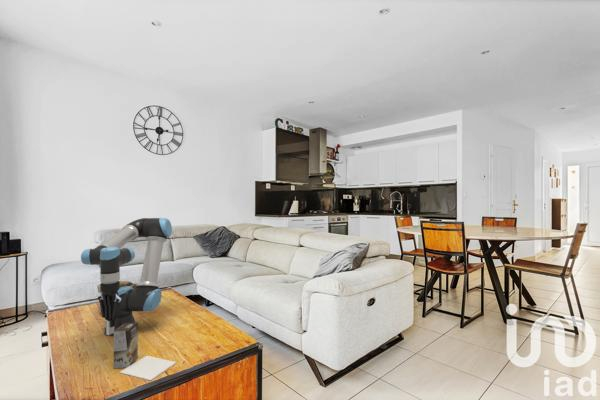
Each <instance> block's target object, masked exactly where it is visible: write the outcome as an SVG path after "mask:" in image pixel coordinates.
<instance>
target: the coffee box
mask: <svg viewBox="0 0 600 400" xmlns="http://www.w3.org/2000/svg"><path fill="white" fill-rule="evenodd" d="M138 325H139V322H136V321H135V322H132V323H124V324H122V325H121V326H120V327H118V328H117V329H116V330H114V336H113V369H125V368H127V367H129V366H130V365H132V364H134V363H135V361H136V360H137V359H138V357H139V348H138V347H139V340H138V339H139V338H138V337H139V329H138V328H139V326H138Z"/></svg>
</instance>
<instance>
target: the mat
mask: <svg viewBox="0 0 600 400" xmlns="http://www.w3.org/2000/svg"><path fill="white" fill-rule="evenodd" d="M176 364H177V361H173V360H168V359H164V358H160V357H155V356H150V355H145V356H144V357H142V358H141V359H139V360H137V361H136V362H135V361H134V362H133V363H132V364H131V365H130V366H129V367H127V368H123V369H122V370H120V371H119V374H121V375H126V376H130V377H133V378H137V379H141V380H146V381H149V382H152V381H154V380H155V379H156V378H157V377H158V376H160V375H161V374H163V373H164V372H166V371H167V370H169V369H170V368H171V367H173V366H175V365H176Z"/></svg>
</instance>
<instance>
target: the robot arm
mask: <svg viewBox="0 0 600 400" xmlns="http://www.w3.org/2000/svg"><path fill="white" fill-rule="evenodd" d="M172 233H173V228H172V223H171V221H170V220H169V219H168V218H166V217H153V218H152V217H148V218H147V217H143V218H138V219H136V220H133V221H131V222H129V223H127V224H126V225H124V226H123V227H122V228H121V230H119V231H118V232H117V233H115V234H114V235H112V236H111V237H109V238H108V239H106V240H104V241H103V242H102V243H101V244H99V245H98V246H96V247H94V248H88V249H87V248H86V249H84V250H83V251H82V252H81V255H80V261H81V263H82V264H83V265H88V266H95V265H98V266H99V267H100V271H99V273H100V274H99V275H100V277H99V279H100V281H99V282H100V283H99V284H100V291H101V292H102V295H101V294H100V296H98V297H97V299H98V302H99V307H100V308H101V311H100V313H101V318H102V319H104V320H105V327H104V329H103V331H104V335H105V336H108V337H109V336H110V337H114V330H116V329H117V328H118V327H120V326H121V325H122V324H124V323H132V322H136V321H135V318H134V315H133V312H146V313H147V312H153V311H155V310H157V308H158V307H159V306H160V303H161V300H162V290H161V289H160V288H159V287H160V286H159V284H157V282H158V276H159V271H160V265H161V259H162V253H163V247H164V243H165V242H167V241H168V238H170V237H171V236H172ZM138 238H145V240H146V242H147V244H146V251H145V255H144V259H143V265H142V270H141V275H140V281H139V283H137V284H138V285H136V290H132V289H133V288H132V286H125V287H120V282H119V281H121V280H120V279H121V275H120V274H121V273H120V272H121V271H120V268H121V267H120V266H122V265H125V264H128V263H130V262H133V260H134V259H135V257H136V254H135V253H136V252H135V251H134V249H133V248H131V247H124V246H125V245H126V244H128V243H130V242H131V241H134V240H137V239H138Z"/></svg>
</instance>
